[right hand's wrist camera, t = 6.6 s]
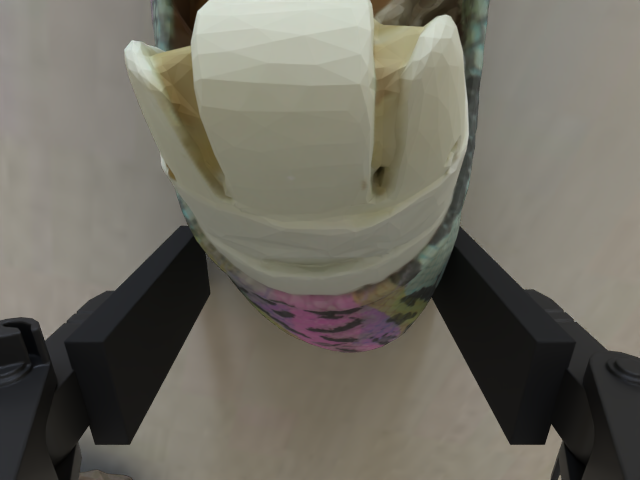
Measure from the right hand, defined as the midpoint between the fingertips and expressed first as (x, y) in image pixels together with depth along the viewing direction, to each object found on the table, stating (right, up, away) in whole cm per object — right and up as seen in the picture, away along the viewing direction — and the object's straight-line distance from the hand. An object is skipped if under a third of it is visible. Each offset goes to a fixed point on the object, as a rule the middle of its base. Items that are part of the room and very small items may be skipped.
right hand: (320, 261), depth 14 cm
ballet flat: (0, +9, -3) cm, 9 cm away
